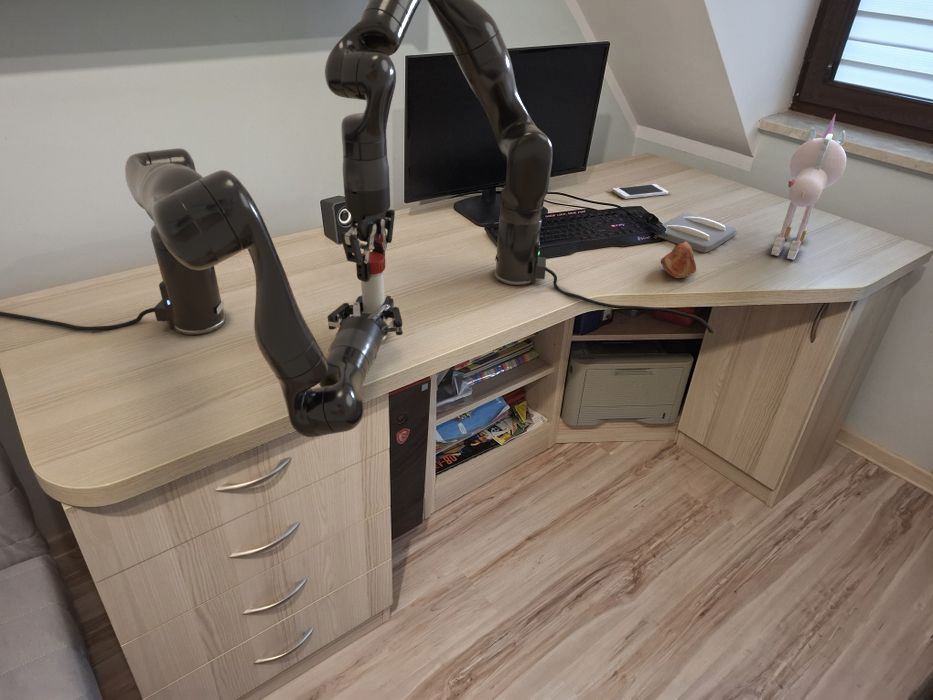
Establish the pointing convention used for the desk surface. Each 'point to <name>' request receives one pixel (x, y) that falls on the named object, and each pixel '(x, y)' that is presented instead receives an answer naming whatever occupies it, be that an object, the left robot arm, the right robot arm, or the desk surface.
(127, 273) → the desk surface
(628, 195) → the smartphone
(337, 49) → the right robot arm
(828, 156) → the toy
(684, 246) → the fossil
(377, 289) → the jar
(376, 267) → the lid
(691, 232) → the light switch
